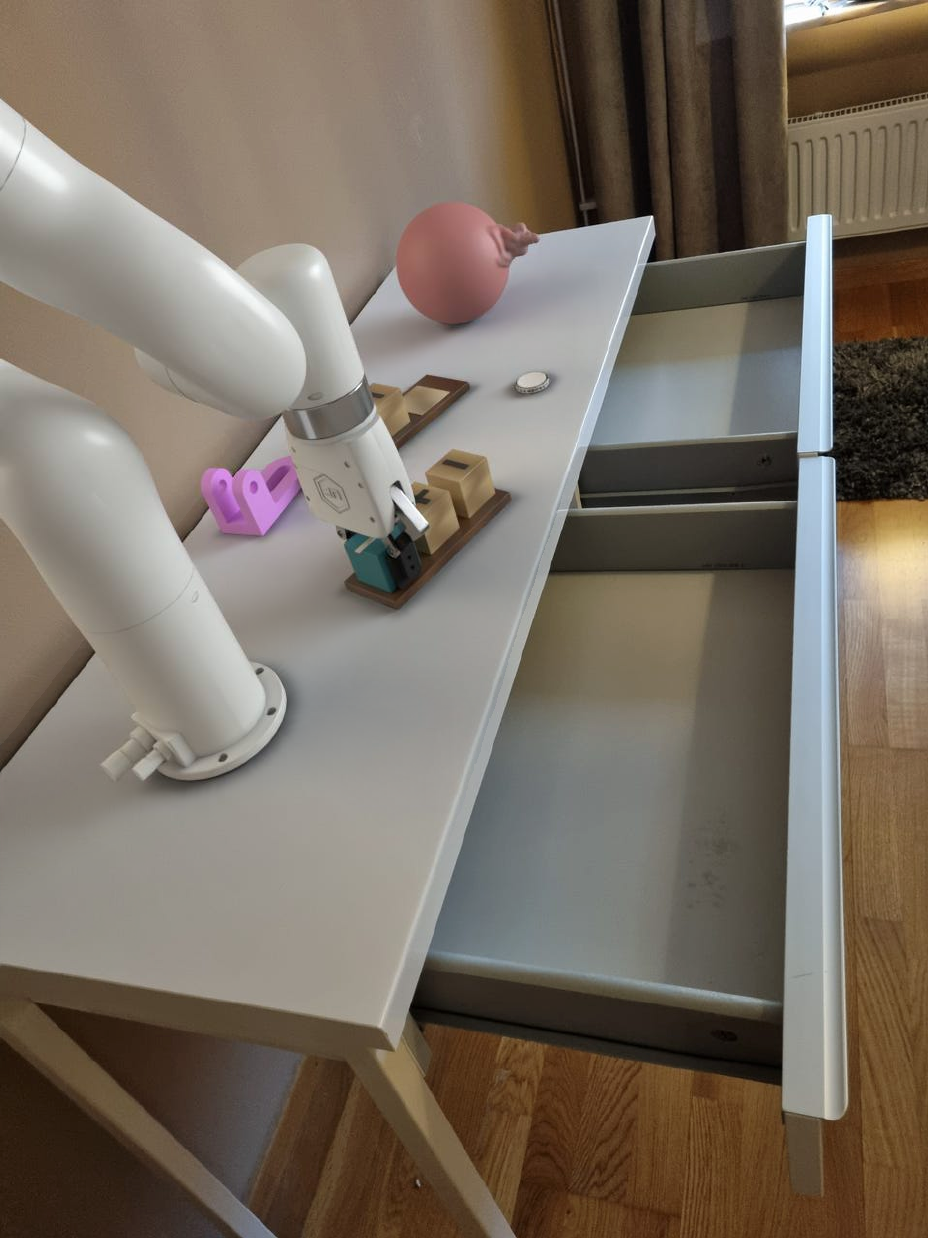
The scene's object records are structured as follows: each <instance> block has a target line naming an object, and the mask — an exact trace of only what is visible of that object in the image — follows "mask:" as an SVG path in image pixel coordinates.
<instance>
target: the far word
mask: <svg viewBox="0 0 928 1238" xmlns="http://www.w3.org/2000/svg"><path fill="white" fill-rule="evenodd" d="M369 387H370V390H371V393H372V396H373V399H374V402H375V405H376V413H378V414H379V415H380V416H381V418H382V420H383V422H384V424H385V426H386V428H387V430H388V432H389V434H390V436H391V438H392V440H393V442H394V444H395V446H396V449H397V451H398V450H399V449H400V448H402V447H403V446H404V445H406V443H408V442H409V441H410V440H411V439H412V438H413V437H415V436H417V434H418V433H420V432H421V431H422V430H423V429H424V428H425V427H427V426H428V425H429V424H430V423H431V422H433V421H434V420H435V419H436V418H437V417H439V416H440V415H441V414H442V413H443V412H444V411H446V410H447V409H448V408H449V407H451V406H452V405H453V404H454V403H455V402H457V401H458V400H459V399H460V398H461V397H462V396H464V395H465V394H466V393H468V391H470V390H471V387H470V383H469V381H467V380H466V381H465V380H459V379H454V378H449V377H443V376H438V375H433V374H425V375H424V376H423V377H422V378H420V379H419V380H417V382H415V383H414V384H412V385H411V386H410V387H409V388H407V389H406V390H405V391H404V392H402V390H401V388H400V387H396V386H391V385H386V384H381V383H376V382H372V383H370V384H369Z"/></svg>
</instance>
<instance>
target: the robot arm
mask: <svg viewBox="0 0 928 1238" xmlns="http://www.w3.org/2000/svg"><path fill="white" fill-rule="evenodd" d="M0 282H1V283H4V284H5V285H7V286H9V287H11V288H13V289H14V290H16V291H17V292H20V293H21V294H23V295H25V296H28V297H30V298H32V299H34V300H37V302H40V303H42V304H45V305H48V306H51V307H53V308H55V309H58V310H61V311H62V312H65V313H68V314H70V315H72V316H75V317H77V318H80V319H81V320H84V321H86V322H88V323H90V324H92V325H94V326H96V327H98V328H100V329H102V330H104V331H106V332H107V333H109V334H110V335H111V334H112V335H113V336H115V337H117V338H119V339H120V340H122V341H124V342H125V343H127V344H129V345H130V346H132V347H133V352H134V356H135V359H136V361H137V363H138V365H139V367H140V369H141V370H142V371H143V373H144V375H146V377H148V378H149V379H150V380H151V381H152V382H153V383H154V384H156V385H157V386H159V387H160V388H162V389H163V390H165V391H167V392H170V393H172V394H175V395H177V396H180V397H182V398H185V399H187V400H190V401H191V402H195V403H198V404H201V405H204V406H207V407H209V408H212V409H214V410H217V411H219V412H222V413H224V414H226V415H229V416H231V417H234V418H236V419H239V420H244V421H261V420H268V419H270V418H273V417H276V416H278V415H280V414H281V416H282V419H283V421H284V429H285V431H284V432H285V437H286V441H287V447H288V450H289V454H290V456H291V458H292V461H293V465H294V468H295V471H296V474H297V476H298V479H299V482H300V485H301V490H302V492H303V495H304V498H305V500H306V503H307V505H308V507H309V510H310V512H311V513H312V514H313V516H314V517H315V518H317V519H319V520H321V521H324V522H325V523H327V524H331V525H333V526H334V527H335V530H336V534H337V536H338V537H339V538H340V539H341V540H343V541H344V544H345V543H346V542H347V541H348V540H349V539H350V538H351V537H353V536H354V535H355V534H356V533H359V534H362V535H366V536H369V537H373V538H380V539H381V541H382V542H383V544H384V546H385V548H386V550H387V551H388V554H387V555H386V556H385V558H386V561H387V564H388V566H389V569H390V572H391V574H392V577H393V580H394V582H395V585H396V587H397V588H399V589H404V588H405V587H406V586H407V585H408V584H409V583H410V582H411V581H412V580H413V579H414V578H415V577H416V576H417V575H418V574H419V573H420V572H421V570H422V566H421V564H420V561H419V558H418V555H417V552H416V549H415V546H414V543H413V542H414V541H415V540H417V539H418V538H420V537H421V536H422V535H423V534H424V533H425V532H426V531H428V530H429V529H430V526H429V524H428V522H427V521H426V520H425V519H424V518H423V516H422V515H421V514H420V513H419V512H418V510H417V509H416V506H415V499H414V495H413V491H412V488H411V484H412V483H411V481H410V479H409V476H408V473H407V471H406V468H405V465H404V462H403V460H402V458H401V456H400V454H399V451H398V450H397V449H396V446H395V444H394V442H393V440H392V438H391V436H390V434H389V432H388V430H387V428H386V426H385V424H384V422H383V420H382V418H381V416H380V415H379V414H378V413H376V405H375V402H374V399H373V396H372V393H371V390H370V387H369V386H370V384H369V380H368V379H367V378H368V377H367V375H366V372H365V369H364V365H363V363H362V360H361V356H360V353H359V351H358V348H357V345H356V341H355V339H354V336H353V333H352V330H351V327H350V324H349V321H348V317H347V315H346V312H345V308H344V306H343V303H342V299H341V297H340V294H339V291H338V288H337V285H336V281H335V277H334V276H333V273H332V269H331V267H330V265H329V262H328V259H327V258H326V257H325V255H324V254H323V252H322V251H321V250H319V249H318V248H317V247H315V246H313V245H311V244H308V243H298V242H297V243H296V242H295V243H286V244H281V245H280V244H279V245H276V246H273V247H269V248H267V249H264V250H262V251H259V252H257V253H255V254H253V255H252V256H250V257H248V258H247V259H246V260H244V261H243V262H241V263H240V264H239V265H238V266H237V267H236V268H235V269H233V268H232V267H230V266H229V265H228V264H227V263H226V262H225V261H223V259H221V258H219V257H218V256H217V255H215V254H214V253H213V252H212V251H211V250H209V249H207V248H206V247H205V246H204V245H202V244H201V243H199V242H198V241H196V240H195V239H194V238H192V237H190V235H188V234H187V233H185V232H184V231H182V230H180V228H177V227H176V226H174V225H173V224H172V223H171V222H168V221H167V220H166V219H164V218H163V217H161V216H159V215H158V214H156V213H154V212H153V211H152V210H150V209H149V208H147V207H146V206H144V205H143V204H141V203H140V202H138V201H137V200H136V199H135V198H132V197H131V196H130V195H128V194H127V193H126V192H125V191H123V190H122V189H120V188H119V187H118V186H116V185H115V184H113V183H112V182H110V180H109V181H108V180H107V179H105V178H104V177H103V176H101V175H100V174H98V173H96V172H95V171H93V170H91V169H90V168H89V167H87V166H85V165H84V164H82V163H81V162H79V161H78V160H76V159H75V158H74V157H73V156H71V155H70V154H69V153H68V152H66V151H65V150H64V149H63V148H61V147H60V146H59V145H57V144H56V143H55V142H54V141H53V140H51V139H50V138H49V137H48V136H46V135H45V134H44V133H42V132H41V130H39V129H38V128H37V127H35V126H34V125H33V124H32V123H31V122H30V121H28V120H27V119H26V118H25V117H24V116H22V115H21V114H20V113H19V112H17V110H15V109H14V108H13V107H11V106H10V105H9V104H8V103H7V102H5V100H3V98H1V97H0ZM0 519H1V520H2V522H3V523H4V524H5V525H6V526H7V527H8V528H9V530H10V531H11V532H12V533H13V534H14V536H15V537H16V538H17V539H18V541H19V543H20V544H21V545H22V547H23V548H24V550H25V551H26V552H27V555H28V556H29V558H30V559H31V561H32V562H33V564H34V566H35V568H36V569H37V571H38V572H39V574H40V576H41V577H42V579H43V581H44V582H45V584H46V585H47V587H48V588H49V590H50V591H51V593H52V594H53V596H54V597H55V598H56V601H58V603H59V605H60V606H61V607H62V609H63V610H64V612H65V613H66V614H67V616H68V617H69V618H70V620H71V621H72V622H73V624H74V625H75V626H76V627H77V629H78V631H80V633H81V634H82V636H83V637H84V638H85V639H86V641H87V642H88V645H90V647H91V648H92V649H93V651H94V653H96V655H97V656H98V658H99V659H100V660H101V662H102V663H103V665H104V666H105V668H106V669H107V670H108V671H109V673H110V674H111V675H112V677H113V679H114V680H115V682H117V684H118V686H119V687H120V688H121V689H122V691H123V692H124V694H125V695H126V697H127V698H128V699H129V700H130V703H132V705H133V706H134V708H135V709H136V710H135V712H134V713H132V714H131V716H130V719H131V720H132V722H133V723H134V724H135V726H136V727H135V728H134V730H132V731H131V732H130V733H129V734H128V737H129V738H130V739H129V740H128V741H127V742H125V743H124V744H123V745H122V746H121V747H120V748H118V749H116V750H115V751H113V753H111V754H110V755H109V756H108V757H107V758H105V760H103V762H101V763H100V764H99V766H100V767H101V769H102V770H103V771H104V772H105V773H106V774H107V775H108V776H109V777H110V778H111V779H112V780H113V781H114V782H119V781H120V780H121V779H122V778H123V777H125V775H126V774H127V773H128V772H130V771H132V773H133V774H134V775H135V776H136V777H137V778H139V780H141V781H143V782H144V781H145V780H146V779H147V778H148V777H149V776H150V775H152V774H153V773H154V772H155V771H156V770H157V771H158V773H160V774H162V775H164V776H166V777H168V778H171V779H175V780H178V781H199V780H206V779H209V778H214V777H217V776H220V775H223V774H225V773H228V772H230V771H232V770H234V769H236V768H238V767H240V766H241V765H243V764H245V763H247V762H248V761H249V760H251V758H253V757H254V756H256V755H257V754H259V752H260V751H261V750H262V749H263V748H264V747H266V746H267V744H268V743H269V742H270V741H271V740H272V738H273V737H274V736H275V734H276V733H277V731H278V730H279V728H280V726H281V724H282V723H283V720H284V717H285V715H286V711H287V701H288V700H287V699H288V698H287V693H286V690H285V687H284V685H283V683H282V681H281V679H280V677H279V676H278V675H277V674H276V672H275V671H274V670H272V668H270V667H268V666H266V665H264V664H262V663H260V662H256V661H250V660H249V659H248V657H247V656H246V654H245V652H244V651H243V649H242V647H241V644H240V643H239V641H238V640H237V638H236V636H235V634H234V632H233V631H232V629H231V628H230V626H229V624H228V622H227V620H226V618H225V617H224V615H223V613H222V611H221V609H220V608H219V606H218V604H217V603H216V601H215V599H214V597H213V595H212V593H211V592H210V589H209V588H208V586H207V584H206V583H205V581H204V579H203V577H202V575H201V574H200V572H199V570H198V568H197V567H196V565H195V563H194V561H193V560H192V558H191V557H190V555H189V552H188V551H187V549H186V548H185V546H184V544H183V542H182V541H181V539H180V538H181V537H179V535H178V533H177V531H176V530H175V528H174V525H173V524H172V521H171V519H170V518H169V515H168V514H167V512H166V509H165V507H164V505H163V502H162V500H161V497H160V495H159V493H158V490H157V487H156V484H155V482H154V479H153V476H152V473H151V471H150V468H149V465H148V463H147V460H146V458H145V456H144V454H143V452H142V451H141V449H140V446H139V445H138V444H137V442H136V441H135V439H134V437H133V436H132V435H131V433H130V432H129V431H128V429H126V428H125V427H124V426H123V424H122V423H120V421H119V420H118V419H117V418H115V417H114V416H113V415H112V414H111V413H109V412H108V411H107V410H105V409H104V408H102V407H101V406H99V405H98V404H96V403H94V402H93V401H92V400H89V399H88V398H86V397H84V396H82V395H80V394H77V393H75V392H73V391H70V390H69V389H66V388H64V387H62V386H60V385H58V384H55V383H51V382H49V381H47V380H44V379H42V378H40V377H38V376H36V375H34V374H32V373H30V372H28V371H26V370H24V369H22V368H20V367H18V366H17V365H14V364H13V363H10V362H9V361H7V360H5V359H4V358H3V359H2V358H1V357H0ZM396 525H397V526H398V528H399V530H400V532H401V533H400V534H399V535H398V537H397V538H396V539H395V540H394V538H393V536H392V534H391V532H392V531H393V530H394V527H395V526H396ZM144 756H145V757H144Z"/></svg>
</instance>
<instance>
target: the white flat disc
mask: <svg viewBox="0 0 928 1238" xmlns="http://www.w3.org/2000/svg"><path fill="white" fill-rule="evenodd" d="M514 383H515V388H516V390H517V391H518V392H519V393H522V394H533V393H537V392H540V391H543V390H544V389H545V388H547V387H548V386H549V384H550V378H549V374H547V373H546V372H543V371H531V372H527V373H524V374H522V375H520V376H519V377H518V378H517V379H516V380H515V382H514Z"/></svg>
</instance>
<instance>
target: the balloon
mask: <svg viewBox="0 0 928 1238" xmlns="http://www.w3.org/2000/svg"><path fill="white" fill-rule="evenodd" d="M540 239H541V237H540V235H539V234H538V233H535V232H531V230H529V229H528V228H527V225H526V224H525V223H524V222H517V223H516V224H514V225H513V226H512V227H510V228H508V227H506V226H504V225H503V224H502V223H501V224H500V223H496V221H495V220H494V219H493V218H492V217H491V216H490V215H489V214H487V213H486V212H485V211H483V210H482V209H481V208H479V207H477V206H475V205H472V204H469V203H467V202H461V201H444V202H439V203H436V204H433V205H431V206H428V207H427V208H425V209H423V210H422V211H421V212H419V213H418V214H417V215H415V217H413V218H412V219H411V220H410V222H409V223H408V224H407V226H406V227H405V229H404V231H403V233H402V234H401V236H400V240H399V242H398V246H397V250H396V257H395V268H396V275H397V281H398V283H399V286H400V289H401V292H402V293H403V295H404V297H405V298H406V299H407V301H408V302H409V303H410V305H411V306H412V307H413V308H414V309H415V310H416V311H417V312H419V313H420V314H421V315H423V316H424V317H426V318H427V319H430V320H432V321H435V322H438V323H441V324H445V325H446V324H447V325H460V324H466V323H469V322H472V321H474V320H477V319H479V318H480V317H482V316H484V315H485V314H486V313H488V312H489V311H490V310H491V309H492V308H493V307H494V306H495V305H496V303H498V302H499V300H500V298H501V296H502V295H503V293H504V290H505V289H506V287H507V283H508V280H509V274H510V267H511V265H512V263H513V261H514V260H515V259H516V258H518V257H523V256H525V255H526V254H527V253H528V251H529V246H530V245H533V244H538V243H539V242H540V241H541V240H540Z"/></svg>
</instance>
